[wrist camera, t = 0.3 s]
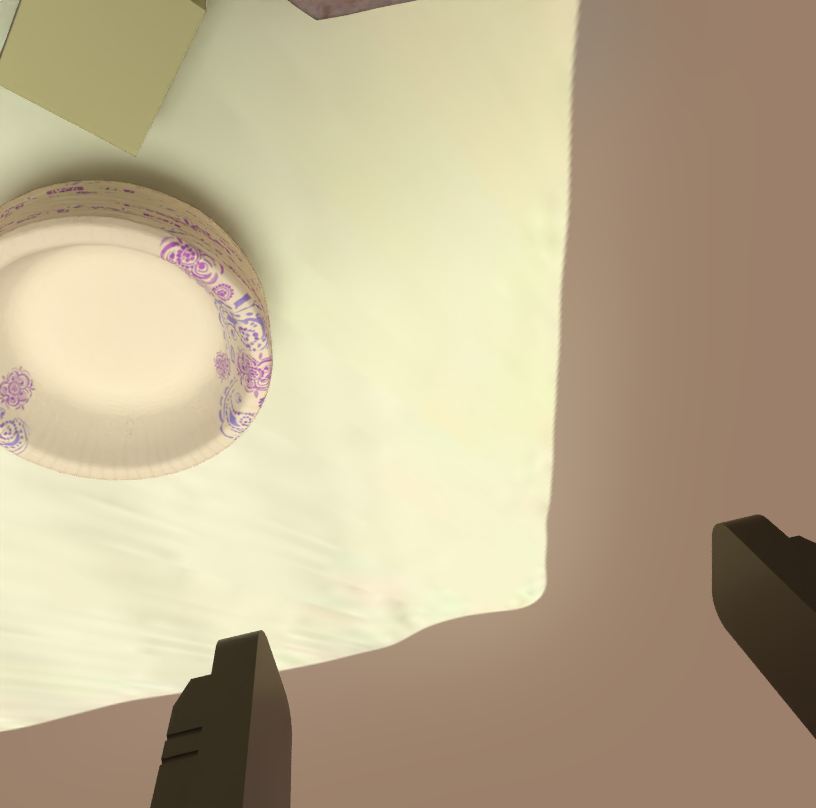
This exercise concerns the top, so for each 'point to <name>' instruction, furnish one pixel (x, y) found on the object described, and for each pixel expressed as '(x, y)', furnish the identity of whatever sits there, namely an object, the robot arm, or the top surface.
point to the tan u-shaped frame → (99, 60)
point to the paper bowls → (125, 332)
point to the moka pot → (340, 6)
